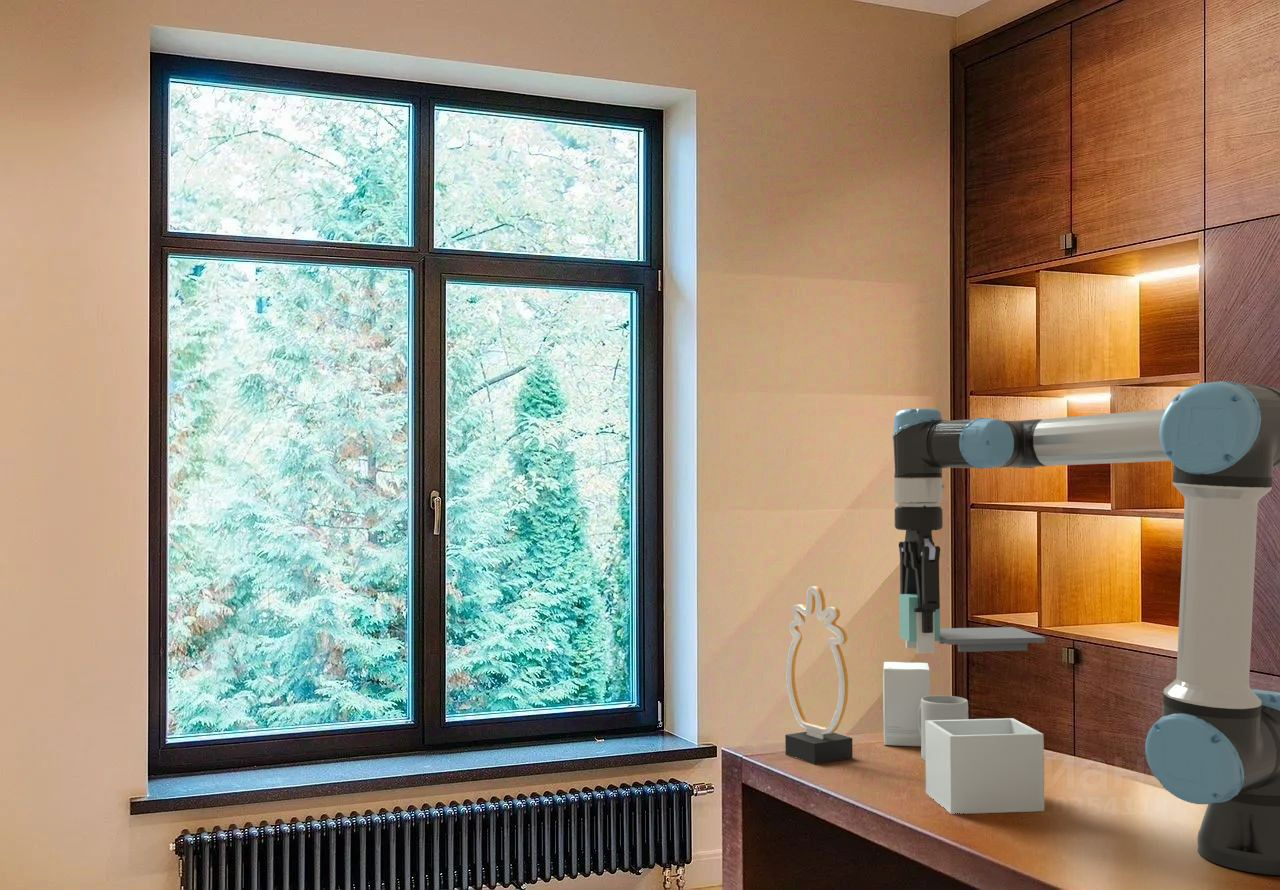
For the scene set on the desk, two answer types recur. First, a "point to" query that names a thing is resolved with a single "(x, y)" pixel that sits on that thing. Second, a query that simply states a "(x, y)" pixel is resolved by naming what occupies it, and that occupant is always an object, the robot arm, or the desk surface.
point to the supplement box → (903, 701)
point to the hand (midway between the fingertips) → (919, 650)
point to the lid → (965, 632)
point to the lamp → (821, 740)
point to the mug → (940, 712)
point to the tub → (984, 765)
